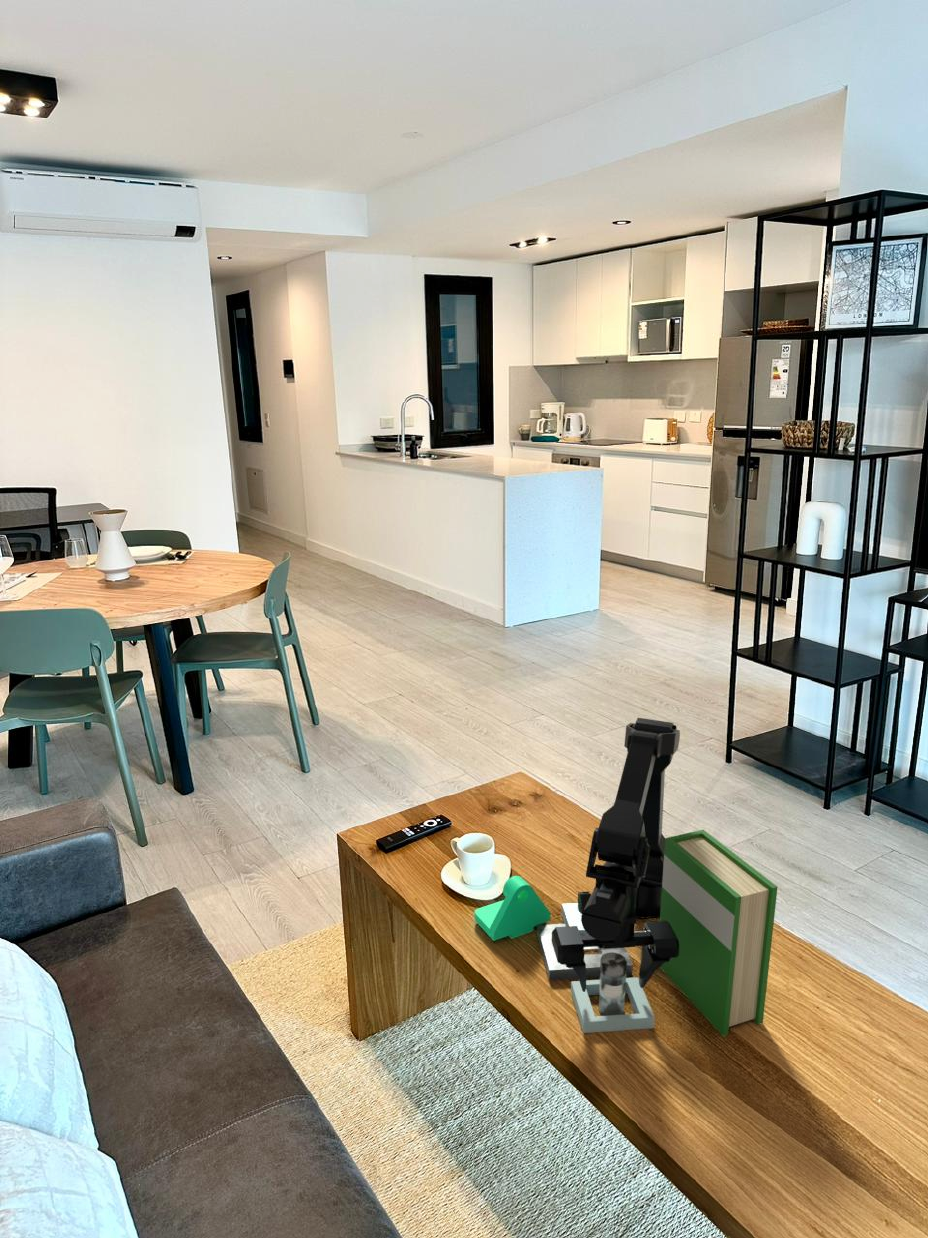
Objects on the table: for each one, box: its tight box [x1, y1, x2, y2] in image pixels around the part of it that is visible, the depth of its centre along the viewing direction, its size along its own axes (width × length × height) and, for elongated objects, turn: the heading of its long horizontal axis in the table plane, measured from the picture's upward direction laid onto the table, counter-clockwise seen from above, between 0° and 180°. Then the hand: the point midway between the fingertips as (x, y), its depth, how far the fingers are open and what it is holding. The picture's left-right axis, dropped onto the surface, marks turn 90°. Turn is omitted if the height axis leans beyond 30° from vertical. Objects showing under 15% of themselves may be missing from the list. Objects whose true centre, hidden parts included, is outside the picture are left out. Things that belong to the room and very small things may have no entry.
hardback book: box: [659, 829, 778, 1037], centre depth 133 cm, size 18×7×24 cm, turn 21°
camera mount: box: [474, 875, 552, 941], centre depth 152 cm, size 12×8×10 cm, turn 119°
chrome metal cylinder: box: [598, 952, 627, 1016], centre depth 131 cm, size 4×4×9 cm
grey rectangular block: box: [561, 902, 588, 936], centre depth 152 cm, size 3×8×2 cm, turn 5°
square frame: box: [570, 976, 656, 1034], centre depth 132 cm, size 11×9×2 cm
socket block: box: [536, 923, 634, 981], centre depth 145 cm, size 14×12×2 cm
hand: (612, 988), depth 131 cm, fingers open, 9 cm apart
